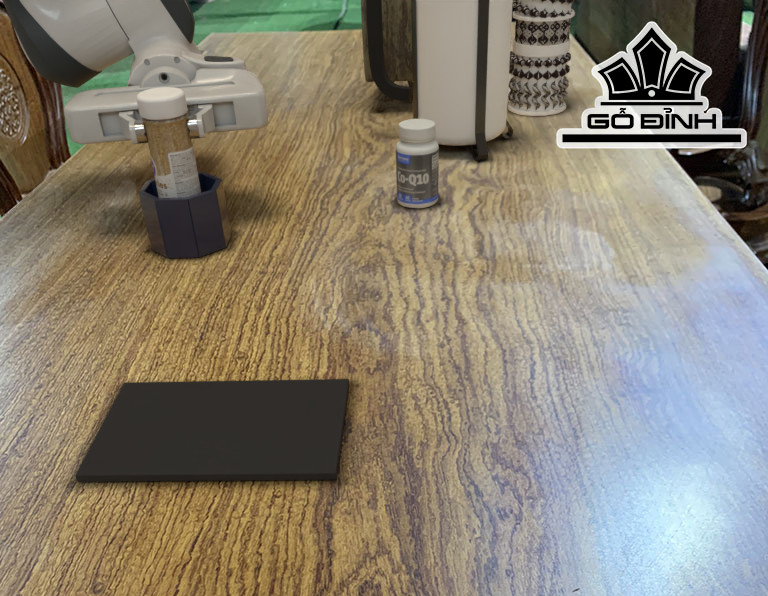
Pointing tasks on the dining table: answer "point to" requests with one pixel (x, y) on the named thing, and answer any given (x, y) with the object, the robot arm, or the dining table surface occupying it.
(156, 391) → the mat
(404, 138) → the pill bottle
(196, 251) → the pen cup
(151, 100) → the sprinkles bottle
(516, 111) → the decorative candle
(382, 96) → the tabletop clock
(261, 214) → the dining table surface
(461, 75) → the coffee press
